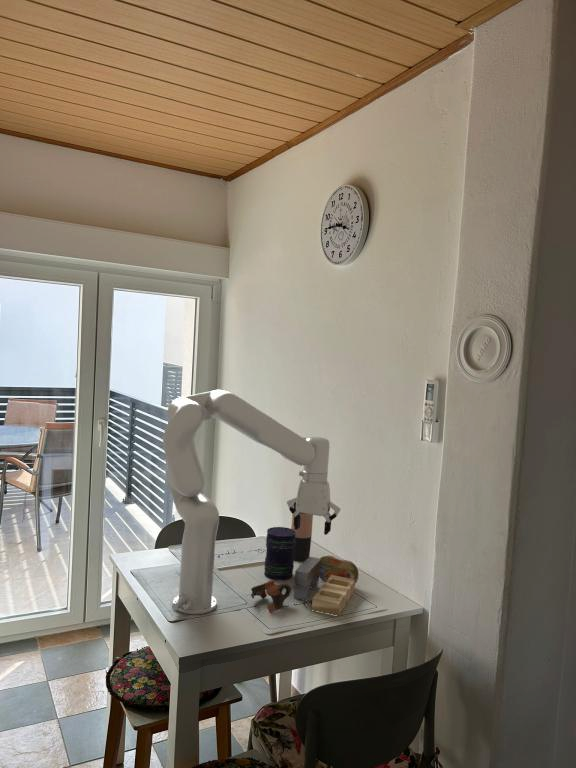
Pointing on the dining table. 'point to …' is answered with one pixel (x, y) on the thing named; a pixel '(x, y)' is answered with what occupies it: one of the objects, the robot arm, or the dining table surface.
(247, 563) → the dining table surface
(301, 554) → the travel mug
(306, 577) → the clip
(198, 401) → the robot arm
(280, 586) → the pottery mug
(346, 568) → the tin
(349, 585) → the light brown long block
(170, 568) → the dining table surface
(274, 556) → the storage jar
